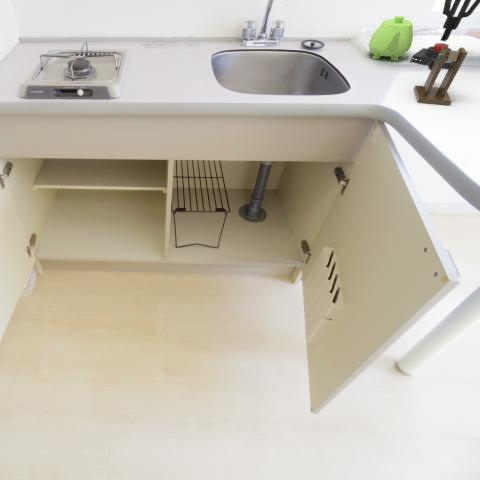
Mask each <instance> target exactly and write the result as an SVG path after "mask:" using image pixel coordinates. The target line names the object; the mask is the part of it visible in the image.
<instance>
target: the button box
mask: <svg viewBox="0 0 480 480" xmlns="http://www.w3.org/2000/svg"><path fill="white" fill-rule="evenodd" d="M433 48H434V45H433V46H429V47H427V48H425V47H423V48H421V49H420V50H418V51H417V52H416V53H414V54H413V55H412V57H411V59H410V61H409V62H410V63H414V64H420V65H424V66H428V64H429V62H430V61H431V60H432V59H434V58H437V57H438V55H439V53H440V51H435V50H433ZM448 50H449V51H453V50H452V49H451V48H449V47H448ZM412 58H414V59H412ZM415 59H417V60H415ZM420 60H421V61H420ZM451 64H452V63H444V64H443V66H442V68H441V69H446V70H448V69H449V67H450V66H451Z"/></svg>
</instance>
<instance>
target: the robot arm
mask: <svg viewBox="0 0 480 480" xmlns="http://www.w3.org/2000/svg"><path fill="white" fill-rule="evenodd" d="M452 2H453V4H452ZM461 2H462V0H454V1H453V0H444V5H443V9H442V15H444V16H446V19H445V22H444V24H443V26H442V29H444V32H443V34H442V36H441V38H440V40H439V41H440V42H446V41H448V40H449V38H450V36H451V34H452V32H453V31H455V30H457V29H458V27H459V25H460V23H461V21H462V20H463V18H469V17H470V16H471V15H472V14H473V13H474V12H475V10H476V9H477V8H478V6H479V5H480V0H475V1H474V2H473V3H472V5H471V6H470V4H471V2H472V0H464V1H463V3H462V5H461V7H460V9H459V6H460V4H461ZM469 6H470V7H469ZM458 9H459V12H458V13H457V16H455V15H456V12H457V10H458Z"/></svg>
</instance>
